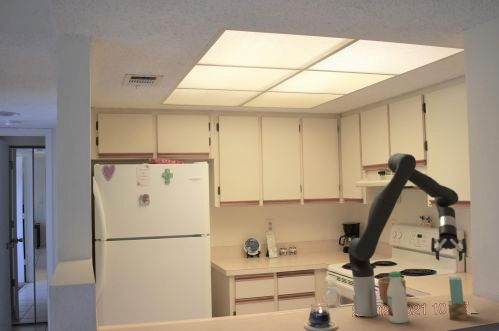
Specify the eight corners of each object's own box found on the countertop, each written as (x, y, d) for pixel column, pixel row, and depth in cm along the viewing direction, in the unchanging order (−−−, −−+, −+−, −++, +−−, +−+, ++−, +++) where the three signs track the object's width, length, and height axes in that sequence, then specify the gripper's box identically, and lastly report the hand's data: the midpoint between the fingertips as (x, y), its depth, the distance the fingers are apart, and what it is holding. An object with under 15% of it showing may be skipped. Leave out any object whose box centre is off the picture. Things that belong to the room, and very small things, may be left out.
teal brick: (451, 304, 200) (449, 279, 200) (451, 301, 204) (448, 277, 204) (463, 304, 198) (461, 279, 198) (462, 301, 202) (460, 277, 203)
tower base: (450, 319, 199) (448, 305, 199) (449, 315, 205) (448, 300, 205) (467, 320, 197) (466, 305, 197) (466, 315, 203) (465, 301, 203)
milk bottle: (410, 319, 203) (406, 270, 204) (406, 324, 197) (401, 274, 197) (391, 317, 207) (387, 270, 208) (386, 323, 201) (382, 273, 201)
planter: (410, 305, 223) (408, 281, 224) (383, 307, 224) (381, 283, 224) (402, 298, 236) (401, 276, 236) (377, 300, 236) (375, 277, 236)
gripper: (430, 223, 220) (431, 255, 210) (465, 223, 215) (467, 256, 205) (430, 232, 225) (431, 264, 215) (464, 233, 220) (467, 265, 210)
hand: (449, 260), depth 210 cm, fingers open, 8 cm apart
